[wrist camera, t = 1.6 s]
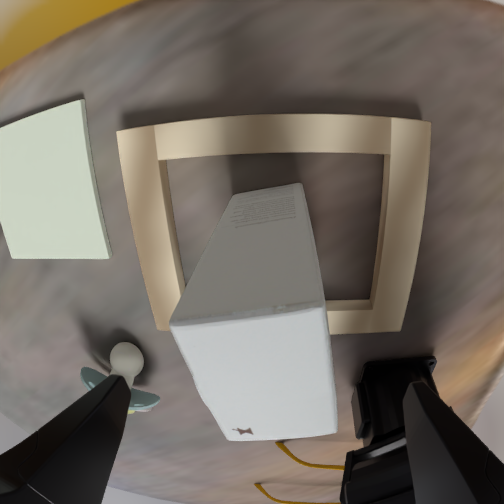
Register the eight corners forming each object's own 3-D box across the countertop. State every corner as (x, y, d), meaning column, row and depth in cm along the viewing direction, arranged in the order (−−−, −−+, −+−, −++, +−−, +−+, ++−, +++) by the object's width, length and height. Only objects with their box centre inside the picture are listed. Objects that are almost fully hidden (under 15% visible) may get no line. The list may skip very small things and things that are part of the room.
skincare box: (319, 270, 20) (339, 437, 10) (253, 280, 21) (224, 444, 10) (303, 177, 18) (328, 304, 7) (230, 191, 19) (158, 324, 8)
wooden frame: (422, 120, 15) (431, 122, 14) (396, 320, 22) (400, 331, 21) (125, 129, 17) (116, 131, 16) (162, 320, 24) (157, 329, 22)
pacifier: (90, 381, 27) (69, 395, 21) (106, 325, 29) (86, 328, 23) (158, 408, 28) (150, 429, 22) (176, 351, 29) (170, 361, 24)
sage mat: (84, 99, 16) (80, 99, 16) (112, 255, 21) (109, 258, 21) (-14, 134, 18) (-18, 135, 17) (15, 255, 23) (12, 258, 22)
